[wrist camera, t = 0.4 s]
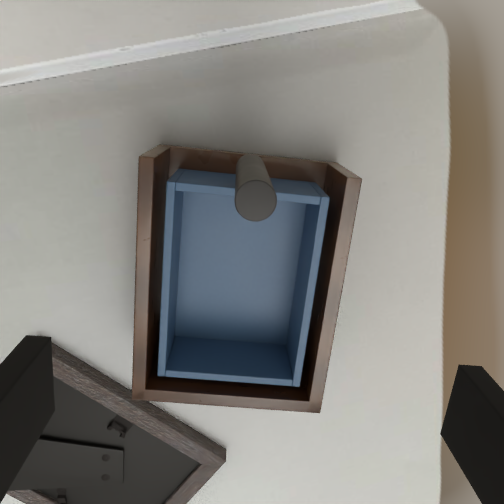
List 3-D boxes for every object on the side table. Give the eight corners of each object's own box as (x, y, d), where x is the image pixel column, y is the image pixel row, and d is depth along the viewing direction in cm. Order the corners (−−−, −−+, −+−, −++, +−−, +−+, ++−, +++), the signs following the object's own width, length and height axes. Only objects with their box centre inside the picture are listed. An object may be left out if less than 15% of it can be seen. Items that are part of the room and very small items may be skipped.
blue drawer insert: (179, 139, 36) (137, 167, 21) (320, 154, 36) (374, 191, 22) (168, 337, 41) (129, 470, 26) (291, 347, 42) (319, 482, 27)
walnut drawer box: (159, 144, 37) (138, 155, 29) (337, 162, 38) (362, 178, 30) (150, 345, 42) (131, 399, 35) (305, 358, 43) (320, 413, 36)
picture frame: (-43, 451, 45) (136, 546, 50) (-55, 466, 44) (132, 564, 48) (40, 336, 42) (226, 449, 46) (31, 347, 40) (225, 464, 44)
